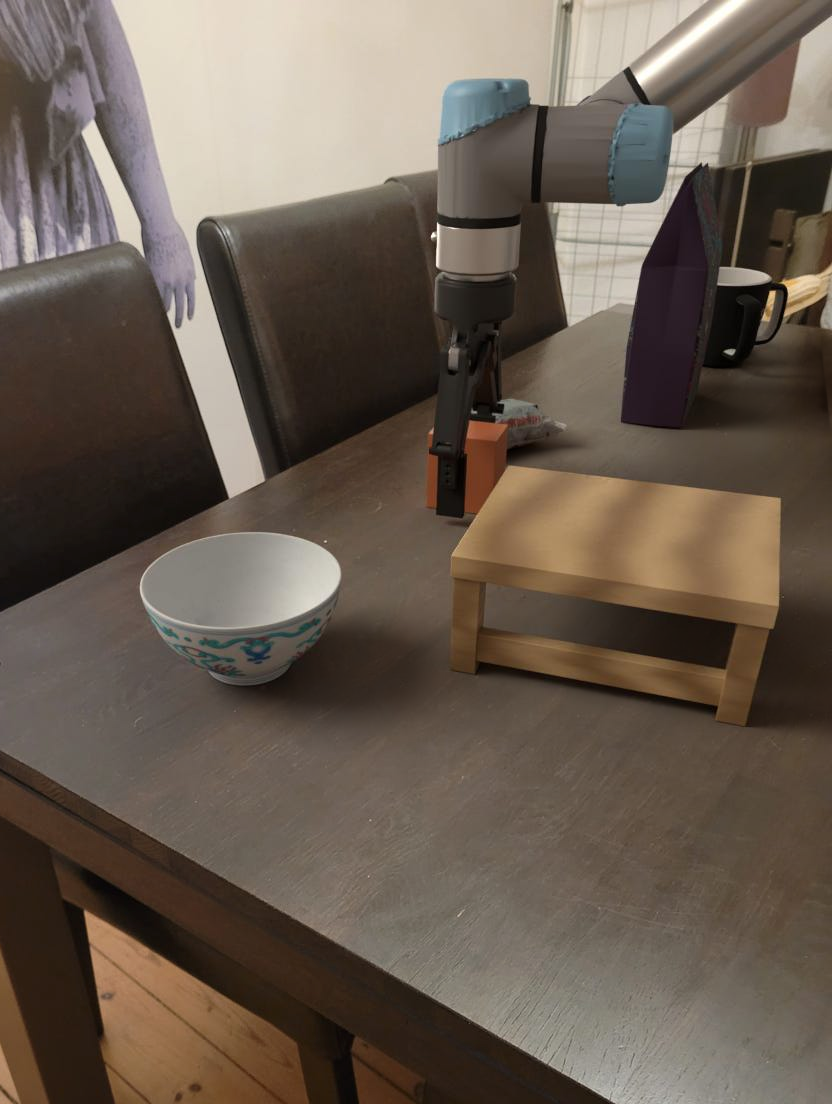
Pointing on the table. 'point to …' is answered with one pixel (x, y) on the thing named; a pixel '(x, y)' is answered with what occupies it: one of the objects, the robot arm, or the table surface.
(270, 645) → the chinaware
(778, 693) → the table surface
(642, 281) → the purple coffee bag
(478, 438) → the small box
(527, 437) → the packaged food
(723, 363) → the mug
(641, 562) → the wooden footstool
